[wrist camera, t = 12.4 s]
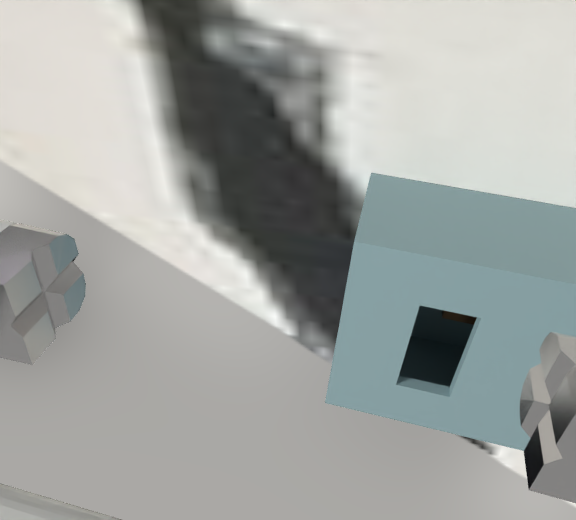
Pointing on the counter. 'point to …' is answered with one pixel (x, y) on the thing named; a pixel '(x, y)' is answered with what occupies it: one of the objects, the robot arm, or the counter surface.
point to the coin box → (451, 306)
